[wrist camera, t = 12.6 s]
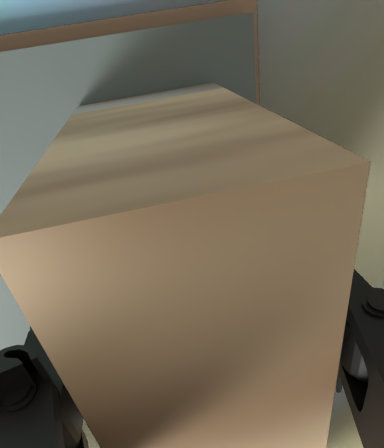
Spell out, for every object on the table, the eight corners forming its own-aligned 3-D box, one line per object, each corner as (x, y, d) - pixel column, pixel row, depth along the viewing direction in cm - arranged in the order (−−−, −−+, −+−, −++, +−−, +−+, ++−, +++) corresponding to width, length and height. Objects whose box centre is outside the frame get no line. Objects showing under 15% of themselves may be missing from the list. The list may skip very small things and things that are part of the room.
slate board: (259, 286, 20) (271, 308, 19) (-109, 370, 19) (-133, 404, 17) (247, -2, 13) (266, -8, 11) (-382, 95, 11) (-479, 106, 9)
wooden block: (232, 285, 17) (320, 486, 9) (139, 306, 17) (150, 534, 9) (213, 82, 12) (370, 161, 4) (77, 106, 12) (-19, 241, 4)
